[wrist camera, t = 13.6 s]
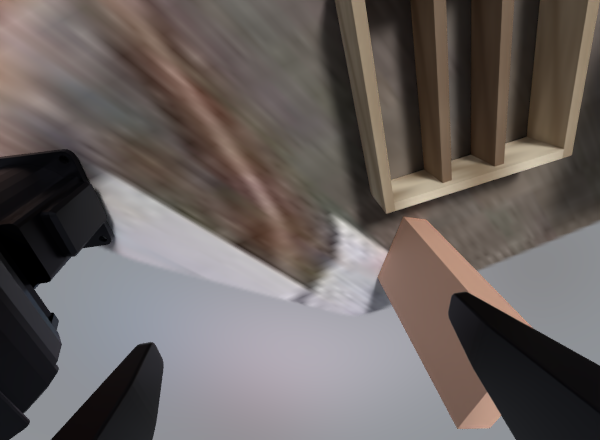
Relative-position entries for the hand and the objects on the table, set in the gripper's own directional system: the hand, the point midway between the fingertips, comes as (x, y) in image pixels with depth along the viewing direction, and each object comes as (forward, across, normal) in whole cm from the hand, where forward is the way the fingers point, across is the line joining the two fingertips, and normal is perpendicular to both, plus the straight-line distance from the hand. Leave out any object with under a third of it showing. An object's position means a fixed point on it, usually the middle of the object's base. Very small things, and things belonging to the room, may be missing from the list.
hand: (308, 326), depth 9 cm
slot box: (+13, -11, -5) cm, 18 cm away
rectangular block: (+13, -9, +8) cm, 18 cm away
